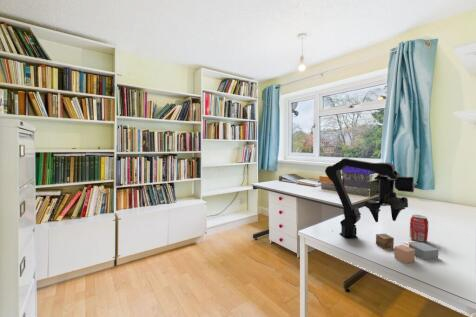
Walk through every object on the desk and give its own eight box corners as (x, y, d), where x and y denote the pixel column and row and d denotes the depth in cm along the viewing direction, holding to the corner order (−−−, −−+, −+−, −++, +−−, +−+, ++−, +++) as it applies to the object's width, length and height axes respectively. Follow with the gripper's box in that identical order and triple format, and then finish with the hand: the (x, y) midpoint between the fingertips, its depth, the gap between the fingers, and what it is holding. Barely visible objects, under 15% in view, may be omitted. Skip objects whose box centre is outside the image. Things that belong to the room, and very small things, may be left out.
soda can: (418, 237, 113) (420, 214, 113) (431, 242, 106) (432, 218, 106) (405, 236, 113) (407, 214, 113) (417, 242, 106) (418, 218, 106)
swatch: (416, 249, 100) (416, 248, 100) (403, 242, 107) (403, 241, 107) (430, 248, 101) (430, 247, 101) (416, 241, 108) (416, 240, 108)
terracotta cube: (406, 263, 89) (407, 251, 89) (394, 257, 94) (394, 246, 94) (414, 261, 91) (414, 249, 91) (401, 255, 96) (402, 244, 95)
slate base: (423, 260, 92) (424, 251, 91) (408, 252, 99) (408, 243, 98) (438, 258, 93) (438, 249, 92) (422, 250, 100) (422, 242, 99)
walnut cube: (383, 249, 102) (384, 238, 101) (375, 244, 107) (376, 234, 106) (393, 248, 102) (393, 237, 102) (385, 243, 107) (385, 233, 107)
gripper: (381, 194, 94) (380, 229, 95) (419, 192, 96) (418, 226, 97) (363, 188, 105) (362, 220, 106) (398, 187, 107) (397, 218, 108)
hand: (385, 221), depth 104 cm, fingers open, 9 cm apart
